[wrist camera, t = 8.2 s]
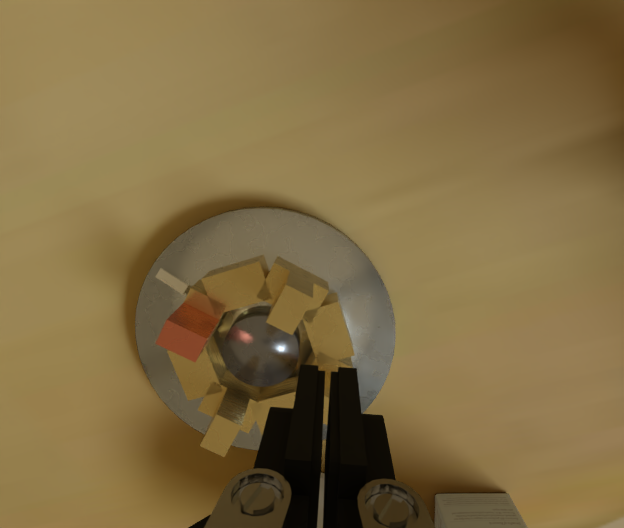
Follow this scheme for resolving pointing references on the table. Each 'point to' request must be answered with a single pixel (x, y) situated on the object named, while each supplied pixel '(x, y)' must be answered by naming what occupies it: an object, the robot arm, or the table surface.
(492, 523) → the supplement box
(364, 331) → the cap plate
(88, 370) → the table surface
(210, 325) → the wooden block ring
